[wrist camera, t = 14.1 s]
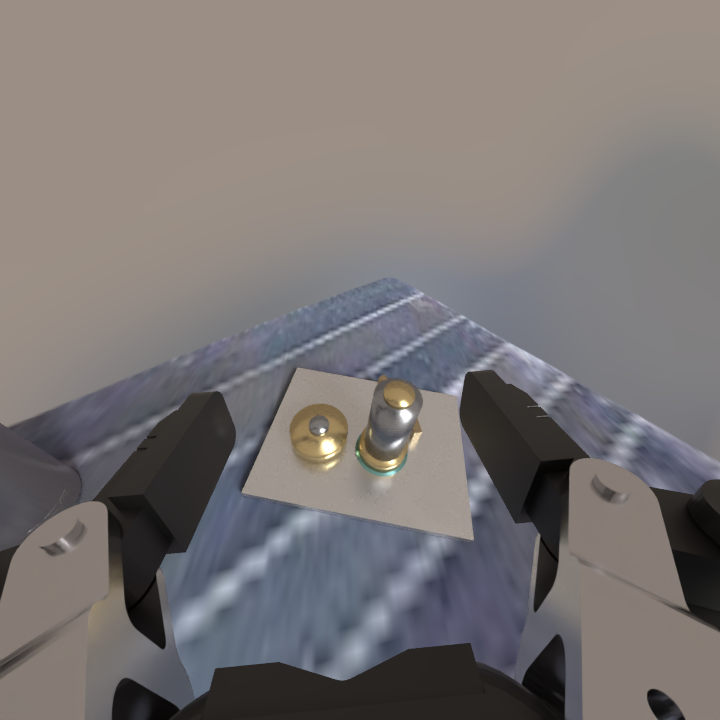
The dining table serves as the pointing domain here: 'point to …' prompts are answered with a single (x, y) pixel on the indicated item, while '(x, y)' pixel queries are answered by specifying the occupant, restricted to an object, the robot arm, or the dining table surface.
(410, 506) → the carrier
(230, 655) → the dining table surface
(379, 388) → the silver and brass cylinder
